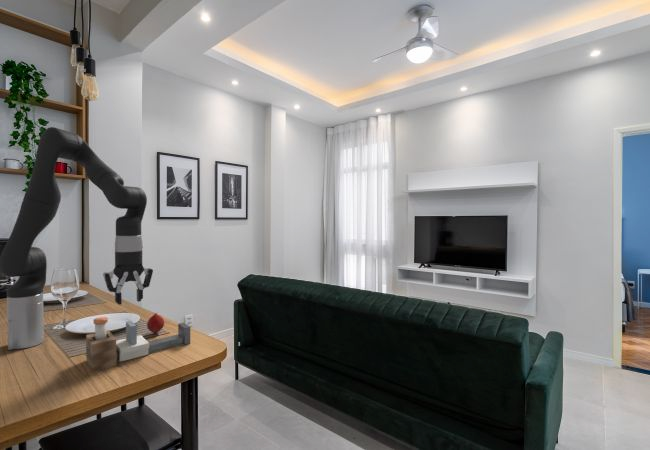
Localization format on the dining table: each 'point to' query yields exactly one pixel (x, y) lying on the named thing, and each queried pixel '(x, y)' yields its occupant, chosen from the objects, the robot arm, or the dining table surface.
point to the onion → (155, 323)
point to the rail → (169, 340)
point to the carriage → (131, 344)
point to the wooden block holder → (101, 351)
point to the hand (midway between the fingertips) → (129, 302)
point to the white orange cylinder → (100, 327)
